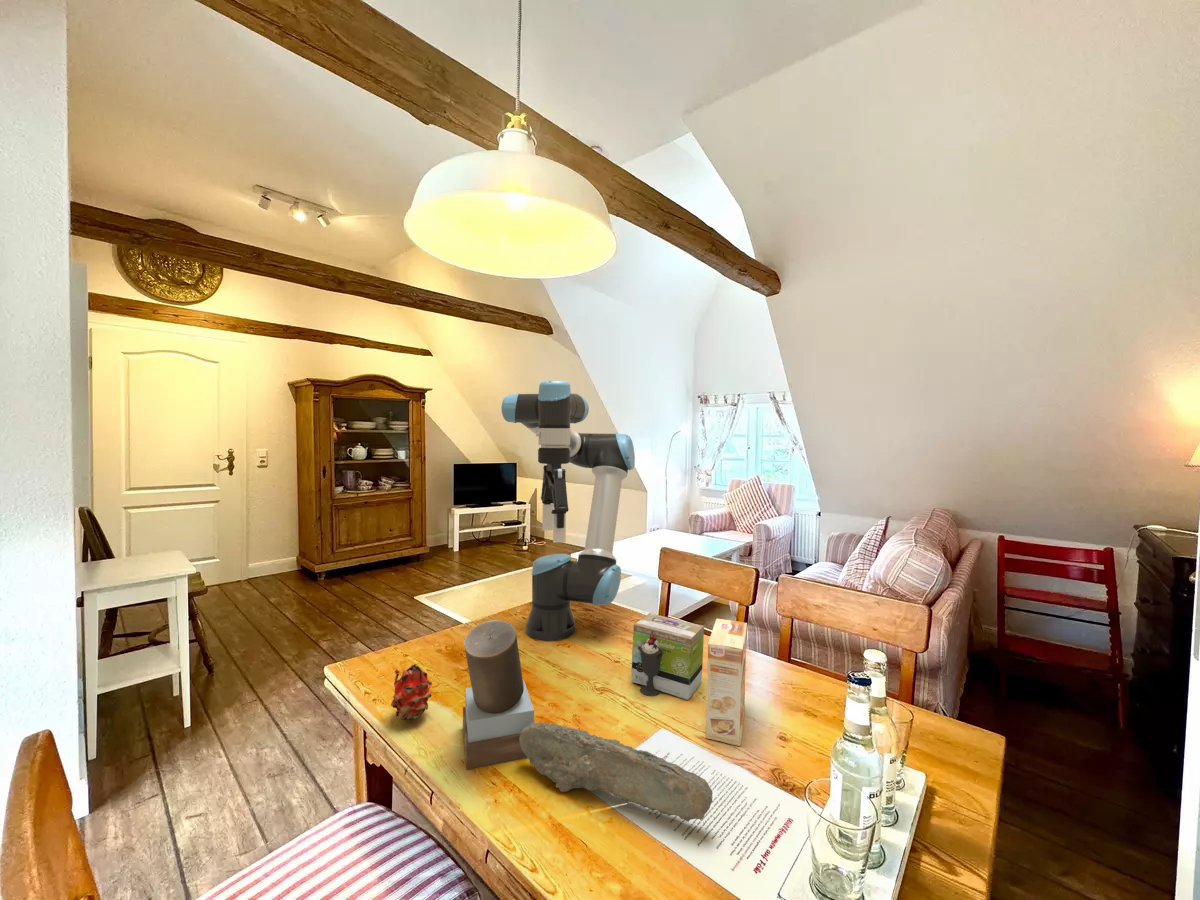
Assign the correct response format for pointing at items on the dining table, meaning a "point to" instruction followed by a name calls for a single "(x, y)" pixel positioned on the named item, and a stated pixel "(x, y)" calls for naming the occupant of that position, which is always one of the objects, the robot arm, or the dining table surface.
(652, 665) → the sundae
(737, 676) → the coffeecake box
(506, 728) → the slate block
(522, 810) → the dining table surface
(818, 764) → the dining table surface
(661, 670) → the tea box
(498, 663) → the pillar candle
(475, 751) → the walnut block
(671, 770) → the long grey stone
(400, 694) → the dragon fruit
